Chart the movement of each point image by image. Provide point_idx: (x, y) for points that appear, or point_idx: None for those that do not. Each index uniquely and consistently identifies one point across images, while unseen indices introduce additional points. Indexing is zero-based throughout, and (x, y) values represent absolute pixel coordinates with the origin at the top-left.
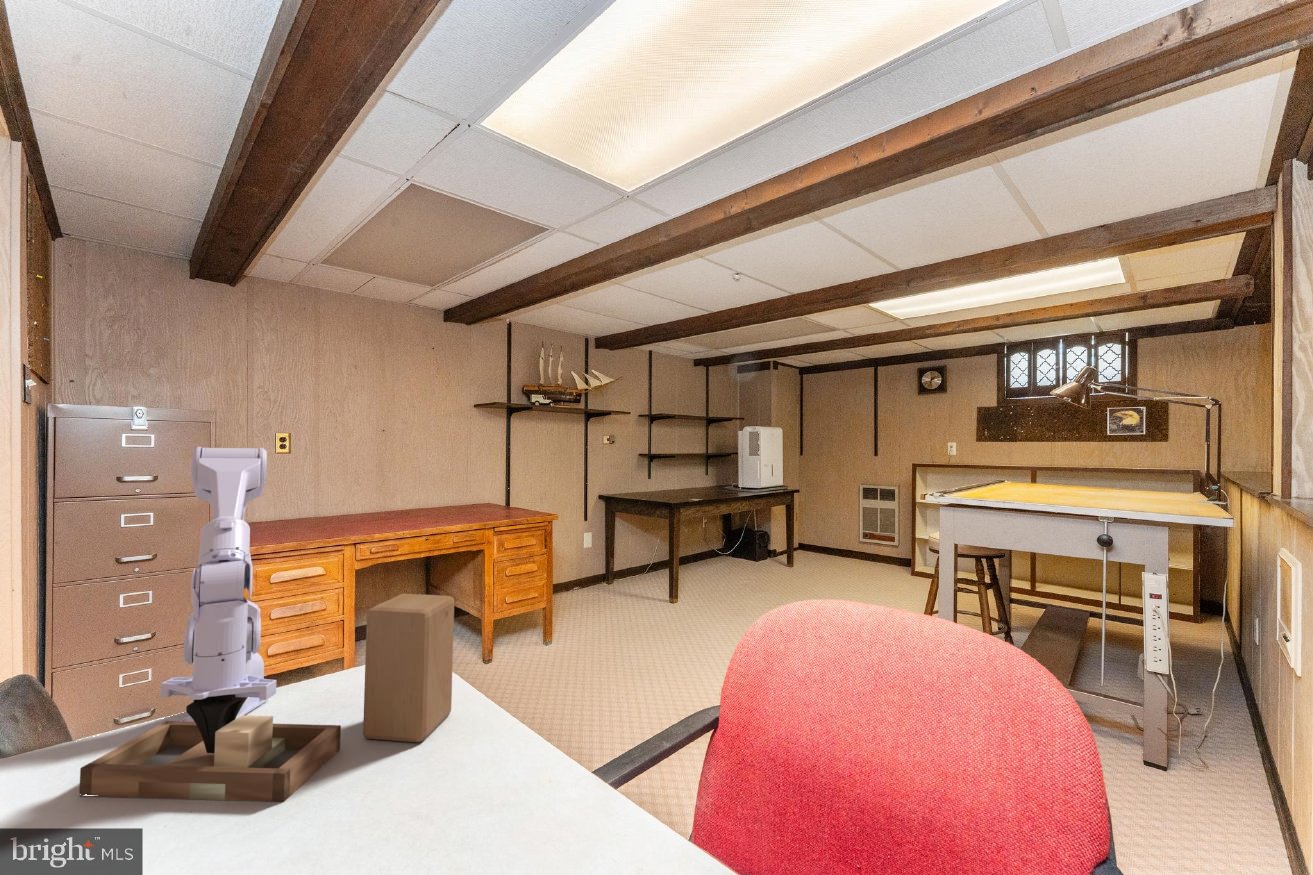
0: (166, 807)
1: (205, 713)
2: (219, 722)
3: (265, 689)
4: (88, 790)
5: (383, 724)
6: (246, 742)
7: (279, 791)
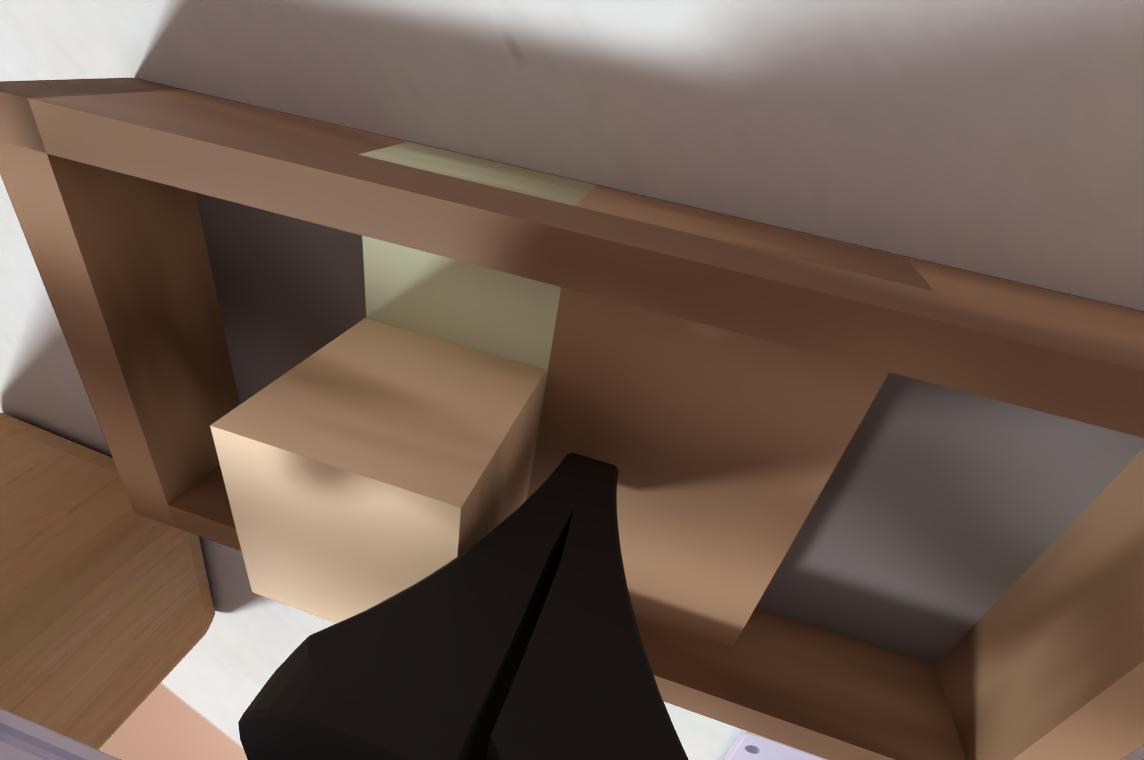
0: (681, 119)
1: (472, 680)
2: (427, 577)
3: None
4: None
5: (46, 493)
6: (276, 388)
7: (101, 83)
